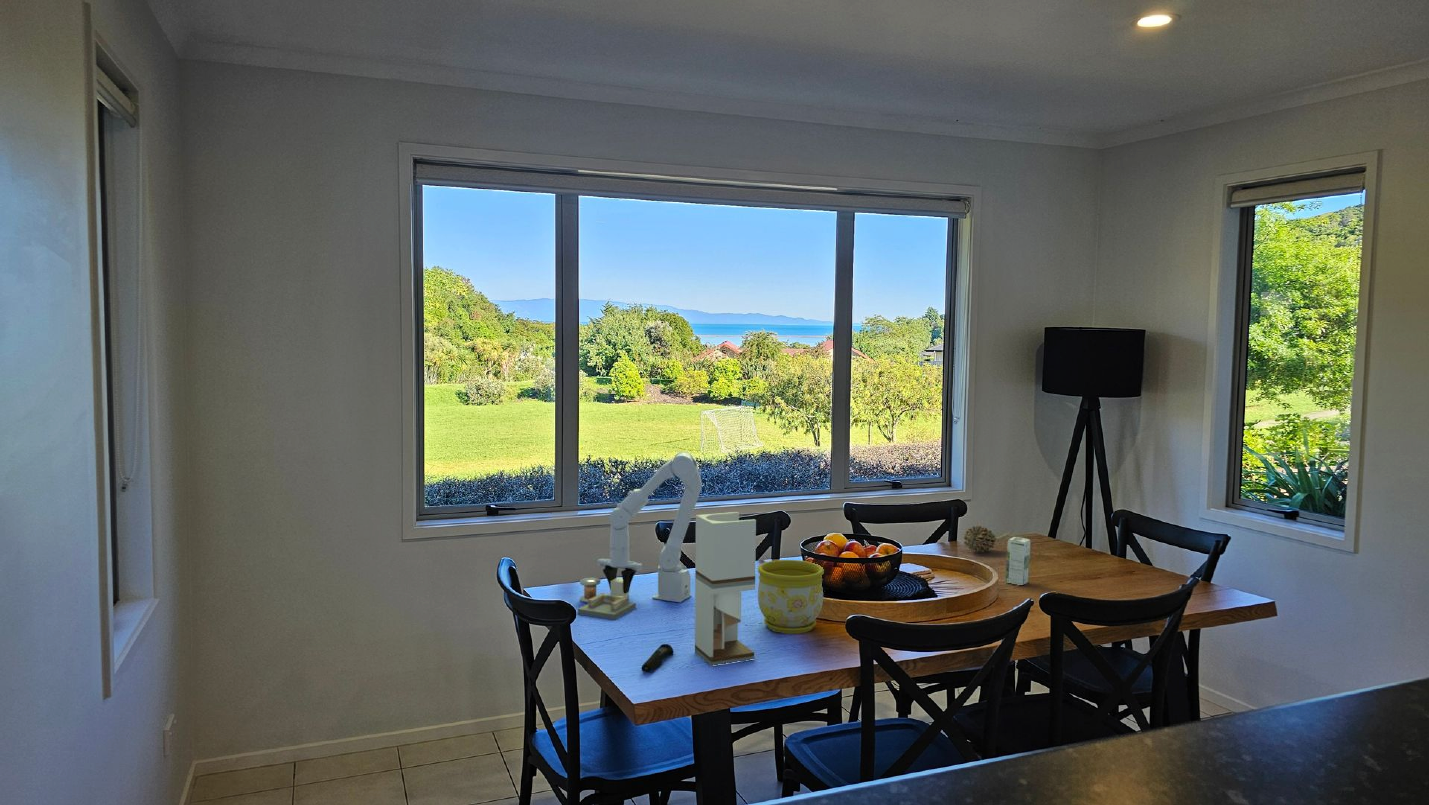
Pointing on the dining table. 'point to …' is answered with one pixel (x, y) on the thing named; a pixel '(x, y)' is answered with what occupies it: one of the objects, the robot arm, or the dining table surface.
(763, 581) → the flowerpot
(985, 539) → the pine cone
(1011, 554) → the syrup box
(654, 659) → the electric trimmer
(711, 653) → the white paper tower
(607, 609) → the notched board
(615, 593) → the block
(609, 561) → the robot arm
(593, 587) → the bobbin spool
